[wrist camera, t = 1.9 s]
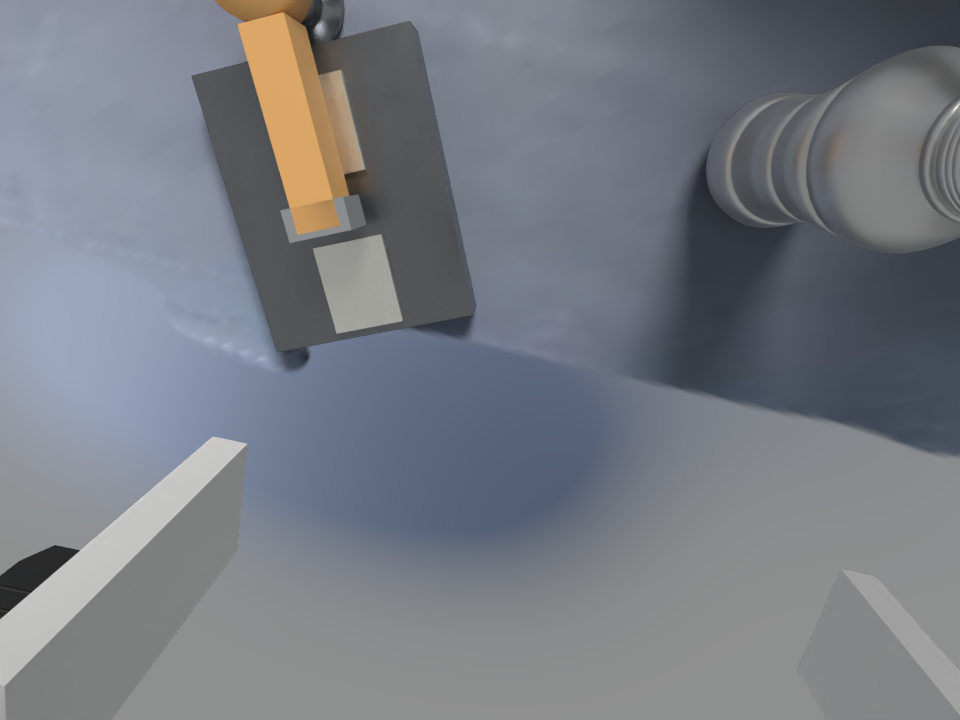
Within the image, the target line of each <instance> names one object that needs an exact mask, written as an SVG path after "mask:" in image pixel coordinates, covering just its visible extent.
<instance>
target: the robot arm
mask: <svg viewBox="0 0 960 720" xmlns="http://www.w3.org/2000/svg"><path fill="white" fill-rule="evenodd" d="M246 454H247V444H246V443H241V442H236V441H232V440H226V439H222V438H217V437H212V438H211V439H209V440H208V441H207V442H206V443H205V444H204V445H202V446H201V447H200V448H199V449H198V450H197V451H195V452H194V453H193V454H192V455H191V456H190V457H189V458H187V459H186V460H185V461H184V462H183V463H182V464H180V465H179V466H178V467H177V468H176V469H175V470H173V471H172V472H171V473H170V474H169V475H168V476H166V477H165V478H164V479H163V480H162V481H161V482H160V483H158V484H157V485H156V486H155V487H154V488H153V489H151V490H150V491H149V492H148V493H147V494H146V495H144V496H143V497H142V498H141V499H140V500H139V501H137V502H136V503H135V504H134V505H133V506H132V507H130V508H129V509H128V510H127V511H126V512H125V513H123V514H122V515H121V516H120V517H119V518H118V519H116V520H115V521H114V522H113V523H112V524H111V525H109V527H107V528H106V529H105V530H104V531H103V532H101V533H100V534H99V535H98V536H97V537H95V538H94V539H93V540H92V541H91V542H90V543H89V544H87V545H86V546H85V547H84V548H83V549H82V550H75V549H71V548H66V547H61V546H56V545H55V546H52V547H50V548H48V549H45V550H43V551H41V552H39V553H36V554H34V555H32V556H30V557H27V558H25V559H23V560H21V561H19V562H18V563H16V564H15V565H14V566H12V567H11V568H10V569H8V570H7V571H6V572H5V573H3V574H2V575H1V576H0V720H112V718H113V717H114V716H115V714H116V713H117V712H118V710H119V709H120V708H121V706H122V705H123V704H124V702H125V701H126V700H127V698H128V697H129V696H130V694H131V693H132V691H133V690H134V689H135V688H136V686H137V685H138V684H139V682H140V681H141V680H142V678H143V677H144V676H145V674H146V673H147V671H148V670H149V669H150V668H151V666H152V665H153V663H154V662H155V661H156V659H157V658H158V657H159V655H160V654H161V653H162V651H163V650H164V649H165V647H166V646H167V645H168V643H169V642H170V641H171V639H172V638H173V637H174V635H175V634H176V633H177V631H178V630H179V629H180V627H181V626H182V625H183V623H184V622H185V621H186V619H187V618H188V616H189V615H190V614H191V613H192V611H193V610H194V608H195V607H196V606H197V604H198V603H199V602H200V600H201V599H202V598H203V596H204V595H205V593H206V592H207V591H208V590H209V588H210V587H211V586H212V584H213V583H214V582H215V580H216V579H217V578H218V576H219V575H220V574H221V572H222V571H223V570H224V568H225V567H226V565H227V564H228V563H229V562H230V560H231V559H232V558H233V556H234V555H235V554H236V552H237V546H238V536H239V526H240V516H241V505H242V495H243V485H244V475H245V464H246ZM797 670H798V672H799V674H800V676H801V678H802V680H803V681H804V683H805V685H806V687H807V689H808V690H809V692H810V694H811V696H812V697H813V699H814V701H815V703H816V705H817V706H818V708H819V710H820V711H821V713H822V715H823V717H824V719H825V720H960V671H959V670H958V669H957V668H956V667H955V666H954V664H953V663H952V662H951V661H950V660H949V659H948V658H947V657H946V656H945V654H944V653H943V652H942V651H941V650H940V649H939V647H938V646H937V645H936V644H935V643H934V642H933V641H932V639H931V638H930V637H929V636H928V635H927V634H926V633H925V631H923V630H922V628H921V627H920V626H919V625H918V624H917V623H916V621H915V620H914V619H913V618H912V617H911V616H910V615H909V613H908V612H907V611H906V610H905V609H904V608H903V607H902V605H901V604H900V603H899V602H898V601H897V600H896V599H895V598H894V596H892V594H891V593H890V592H889V591H888V590H887V589H886V587H885V586H884V585H883V584H882V583H881V582H880V581H879V579H878V578H877V577H876V576H872V575H867V574H862V573H857V572H853V571H848V570H843V569H841V571H840V573H839V575H838V577H837V580H836V582H835V584H834V586H833V589H832V591H831V593H830V596H829V598H828V600H827V602H826V605H825V607H824V609H823V611H822V614H821V616H820V618H819V621H818V623H817V625H816V627H815V630H814V632H813V634H812V636H811V639H810V641H809V643H808V646H807V648H806V650H805V652H804V655H803V657H802V659H801V661H800V664H799V666H798V668H797Z"/></svg>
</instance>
